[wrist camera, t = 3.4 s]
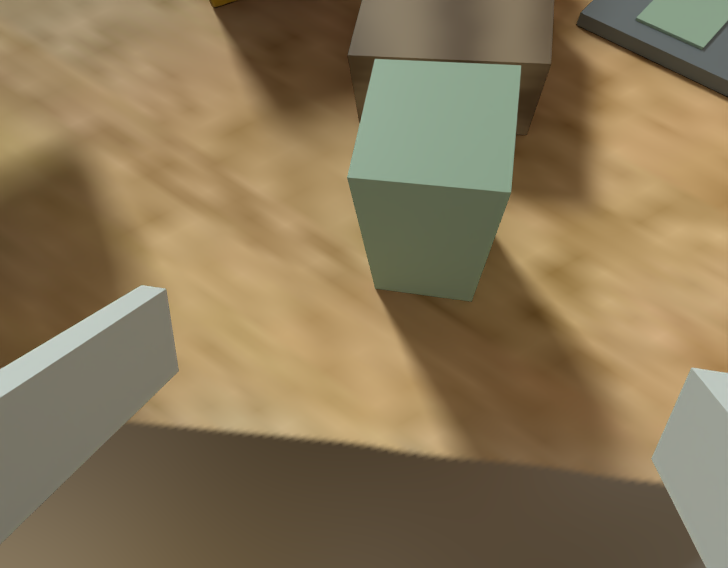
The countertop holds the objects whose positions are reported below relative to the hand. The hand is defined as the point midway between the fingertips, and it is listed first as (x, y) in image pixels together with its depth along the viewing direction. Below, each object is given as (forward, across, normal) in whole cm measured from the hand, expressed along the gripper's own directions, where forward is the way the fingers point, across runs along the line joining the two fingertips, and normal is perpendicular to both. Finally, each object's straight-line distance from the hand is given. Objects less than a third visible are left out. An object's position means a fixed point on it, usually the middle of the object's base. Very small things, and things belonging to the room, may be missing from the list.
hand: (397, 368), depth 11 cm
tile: (+32, +16, +12) cm, 38 cm away
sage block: (+17, 0, -3) cm, 18 cm away
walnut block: (+28, -1, +8) cm, 30 cm away
